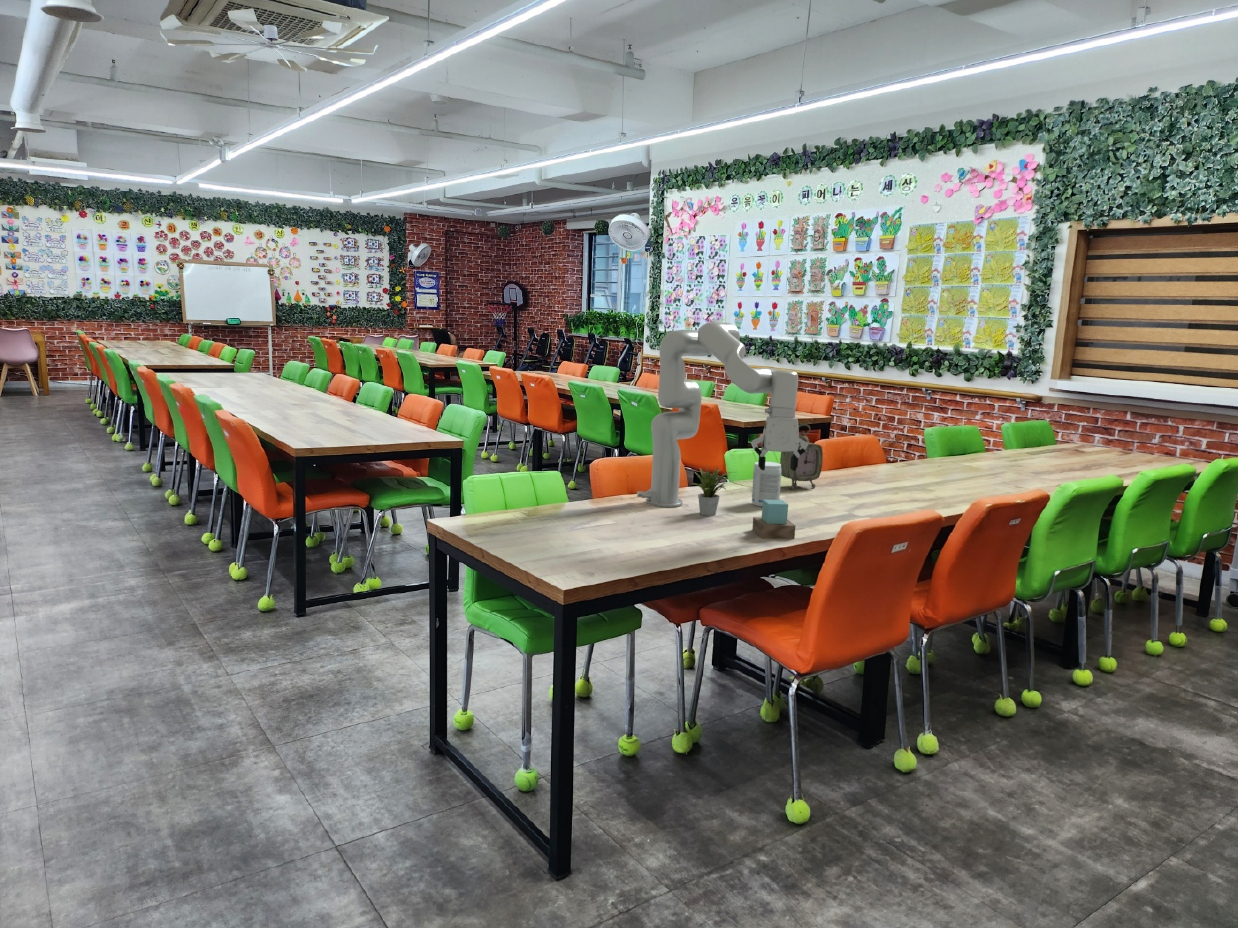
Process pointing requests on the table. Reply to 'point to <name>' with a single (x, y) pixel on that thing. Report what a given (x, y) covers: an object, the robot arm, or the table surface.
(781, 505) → the teal cube
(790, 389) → the robot arm
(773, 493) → the supplement tub
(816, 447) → the tabletop clock
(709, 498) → the house plant
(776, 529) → the walnut base
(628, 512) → the table surface
